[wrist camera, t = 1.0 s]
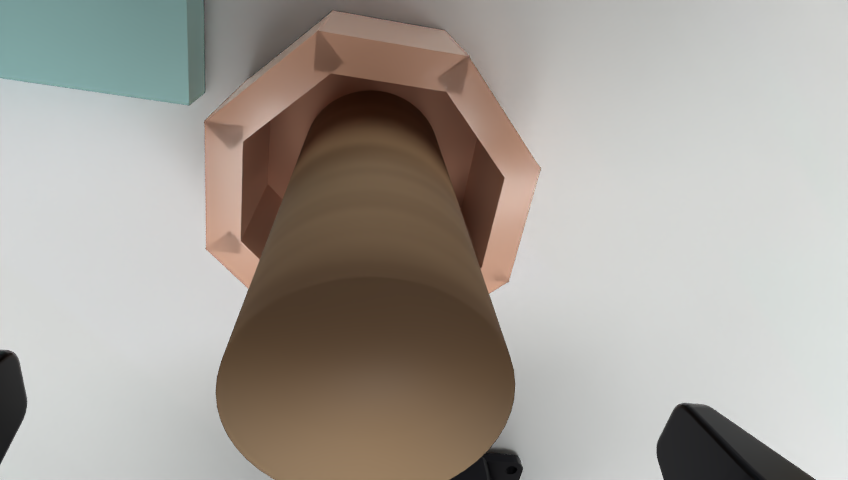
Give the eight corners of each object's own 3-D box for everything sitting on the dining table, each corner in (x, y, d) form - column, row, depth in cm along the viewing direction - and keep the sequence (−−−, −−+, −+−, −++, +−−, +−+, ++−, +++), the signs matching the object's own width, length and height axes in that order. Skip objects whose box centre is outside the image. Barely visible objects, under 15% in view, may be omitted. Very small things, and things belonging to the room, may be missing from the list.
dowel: (426, 225, 17) (479, 505, 8) (299, 210, 17) (216, 494, 8) (450, 102, 16) (549, 293, 7) (309, 80, 15) (214, 259, 6)
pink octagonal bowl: (466, 267, 19) (489, 349, 15) (243, 243, 18) (206, 324, 14) (519, 42, 16) (568, 72, 12) (249, -5, 15) (202, 9, 11)
